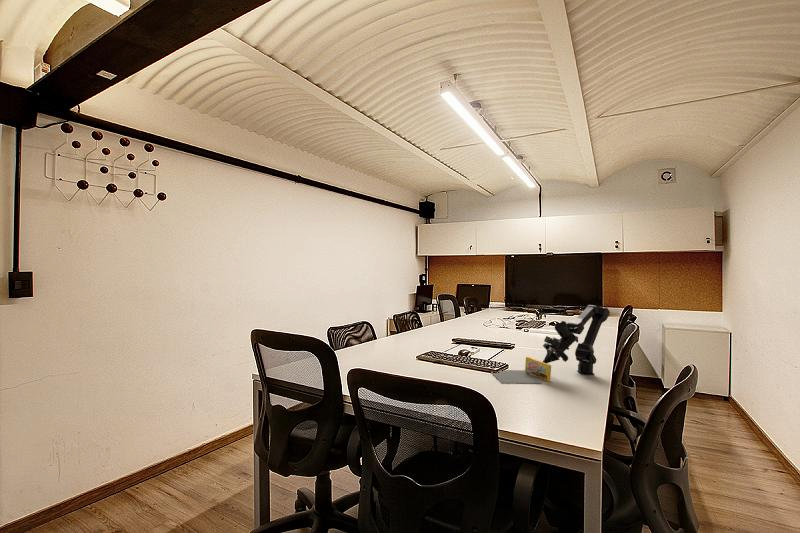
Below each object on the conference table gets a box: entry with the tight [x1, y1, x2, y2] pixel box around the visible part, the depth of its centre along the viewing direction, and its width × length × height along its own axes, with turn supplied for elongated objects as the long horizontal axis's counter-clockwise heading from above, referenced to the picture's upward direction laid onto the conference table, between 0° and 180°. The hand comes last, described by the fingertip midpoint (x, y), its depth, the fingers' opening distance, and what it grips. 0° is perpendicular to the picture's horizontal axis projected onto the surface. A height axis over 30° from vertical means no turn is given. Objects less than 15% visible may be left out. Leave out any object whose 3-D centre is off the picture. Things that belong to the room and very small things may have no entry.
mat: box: [490, 369, 542, 385], centre depth 200 cm, size 20×22×1 cm
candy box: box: [524, 356, 552, 382], centre depth 200 cm, size 16×2×8 cm, turn 25°
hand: (543, 363), depth 200 cm, fingers closed
